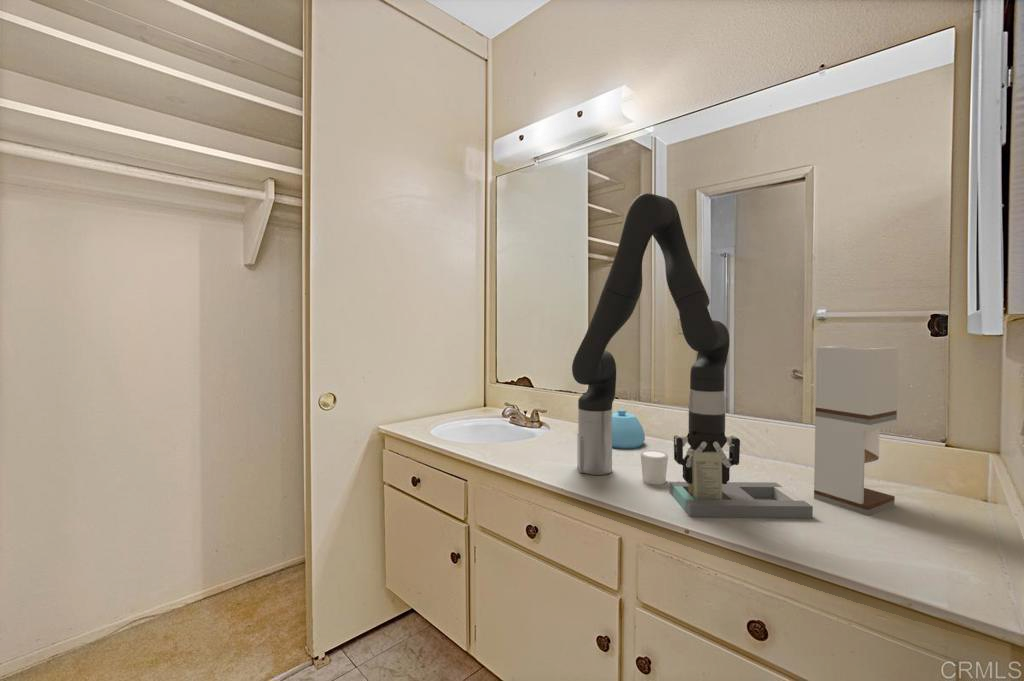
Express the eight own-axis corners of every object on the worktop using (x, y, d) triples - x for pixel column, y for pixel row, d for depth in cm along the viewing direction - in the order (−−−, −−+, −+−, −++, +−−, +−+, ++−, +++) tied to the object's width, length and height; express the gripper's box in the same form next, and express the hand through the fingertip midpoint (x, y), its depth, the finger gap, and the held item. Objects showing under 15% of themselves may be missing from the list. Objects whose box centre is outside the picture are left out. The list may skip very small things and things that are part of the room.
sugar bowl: (591, 444, 151) (591, 410, 151) (612, 436, 163) (612, 404, 162) (632, 452, 142) (632, 416, 141) (652, 442, 153) (652, 409, 153)
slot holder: (690, 517, 94) (690, 505, 94) (669, 492, 108) (669, 481, 108) (812, 518, 93) (812, 506, 93) (775, 492, 107) (775, 482, 107)
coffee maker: (867, 515, 94) (871, 349, 93) (813, 498, 104) (816, 347, 102) (894, 505, 100) (898, 347, 98) (841, 489, 109) (844, 345, 108)
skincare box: (715, 500, 103) (716, 447, 102) (723, 508, 99) (723, 453, 98) (686, 499, 103) (687, 447, 103) (692, 507, 99) (693, 452, 99)
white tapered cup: (669, 478, 118) (669, 451, 118) (666, 486, 112) (666, 459, 111) (642, 474, 121) (642, 448, 121) (638, 482, 115) (638, 455, 114)
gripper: (679, 413, 97) (679, 488, 97) (747, 413, 96) (746, 489, 97) (668, 406, 104) (668, 476, 105) (731, 406, 104) (731, 477, 104)
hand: (705, 482), depth 101 cm, fingers open, 7 cm apart
